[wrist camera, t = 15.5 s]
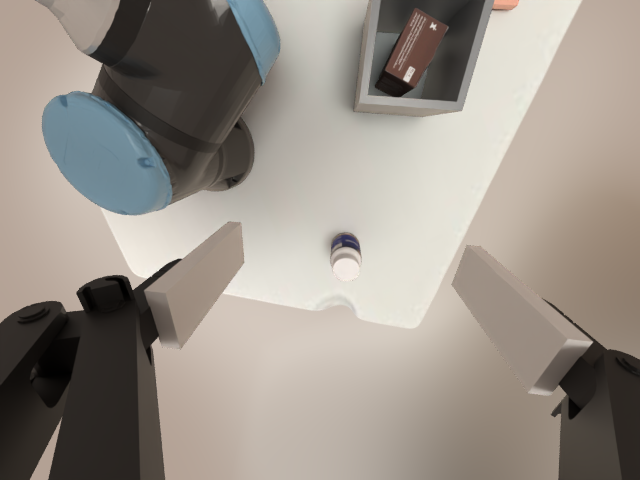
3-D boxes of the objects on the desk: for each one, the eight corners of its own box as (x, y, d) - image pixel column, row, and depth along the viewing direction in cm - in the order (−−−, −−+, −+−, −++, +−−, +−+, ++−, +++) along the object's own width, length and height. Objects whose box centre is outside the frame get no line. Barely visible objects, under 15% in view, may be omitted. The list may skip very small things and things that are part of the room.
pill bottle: (365, 244, 49) (370, 270, 40) (345, 261, 51) (346, 289, 42) (344, 226, 47) (345, 249, 38) (326, 245, 49) (322, 270, 40)
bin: (353, 111, 38) (359, 103, 26) (364, 23, 34) (377, -40, 21) (422, 116, 38) (461, 110, 25) (442, 28, 33) (504, -33, 21)
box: (392, 43, 34) (415, 3, 24) (419, 58, 35) (453, 26, 24) (371, 87, 37) (383, 70, 26) (396, 101, 37) (418, 89, 27)
